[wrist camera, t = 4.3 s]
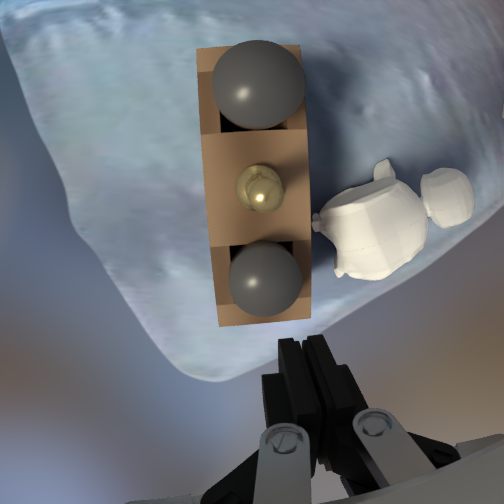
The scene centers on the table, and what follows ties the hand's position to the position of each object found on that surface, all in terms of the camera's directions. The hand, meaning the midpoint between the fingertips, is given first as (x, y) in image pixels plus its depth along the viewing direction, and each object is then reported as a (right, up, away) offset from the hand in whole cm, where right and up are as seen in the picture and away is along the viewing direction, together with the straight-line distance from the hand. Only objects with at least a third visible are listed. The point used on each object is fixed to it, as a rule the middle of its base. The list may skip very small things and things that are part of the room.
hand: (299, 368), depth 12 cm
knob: (-2, +16, +12) cm, 19 cm away
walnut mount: (-2, +11, +17) cm, 20 cm away
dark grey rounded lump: (-1, +5, +18) cm, 19 cm away
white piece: (+11, +9, +19) cm, 24 cm away
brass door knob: (-1, +9, +9) cm, 13 cm away
